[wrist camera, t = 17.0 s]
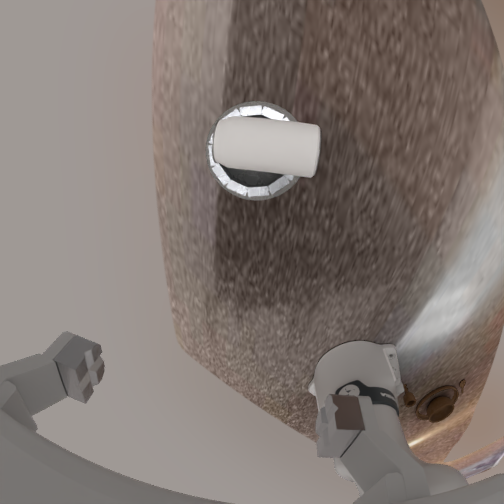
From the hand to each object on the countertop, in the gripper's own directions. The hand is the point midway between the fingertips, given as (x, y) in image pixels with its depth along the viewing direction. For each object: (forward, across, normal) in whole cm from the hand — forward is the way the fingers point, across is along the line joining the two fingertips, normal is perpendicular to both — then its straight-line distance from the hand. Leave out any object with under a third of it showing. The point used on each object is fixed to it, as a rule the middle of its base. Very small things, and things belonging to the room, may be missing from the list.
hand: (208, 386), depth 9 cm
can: (+29, -6, -8) cm, 30 cm away
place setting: (+36, -48, +35) cm, 69 cm away
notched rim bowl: (+35, +2, -6) cm, 36 cm away
